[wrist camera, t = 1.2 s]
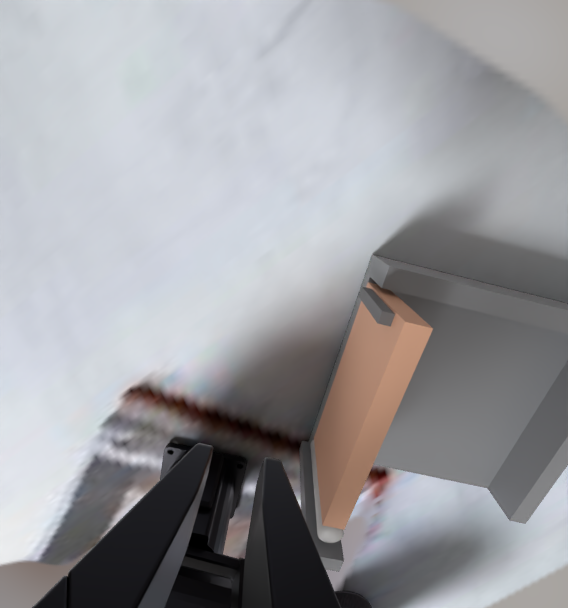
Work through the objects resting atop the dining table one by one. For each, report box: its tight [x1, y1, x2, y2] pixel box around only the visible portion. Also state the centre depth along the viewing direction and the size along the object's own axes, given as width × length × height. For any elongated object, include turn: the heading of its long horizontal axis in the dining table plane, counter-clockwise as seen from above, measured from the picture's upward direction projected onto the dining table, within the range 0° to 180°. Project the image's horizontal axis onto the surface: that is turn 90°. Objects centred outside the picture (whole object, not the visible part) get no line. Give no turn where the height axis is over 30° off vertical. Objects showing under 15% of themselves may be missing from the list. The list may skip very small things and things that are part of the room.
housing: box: [299, 255, 568, 572], centre depth 18 cm, size 16×16×8 cm
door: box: [310, 282, 433, 543], centre depth 17 cm, size 13×2×6 cm, turn 166°
